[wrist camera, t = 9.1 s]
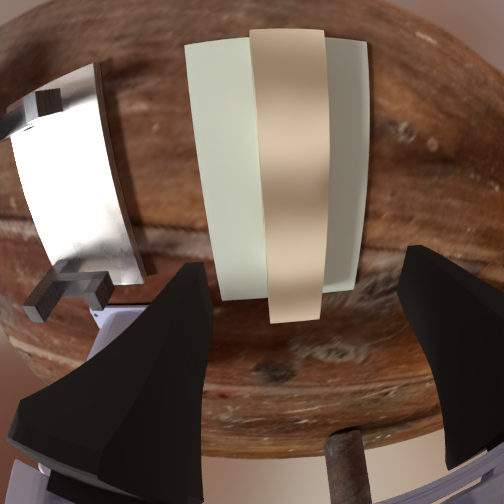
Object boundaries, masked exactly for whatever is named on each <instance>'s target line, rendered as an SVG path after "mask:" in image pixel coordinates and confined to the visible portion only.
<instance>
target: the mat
mask: <svg viewBox="0 0 504 504" xmlns="http://www.w3.org/2000/svg"><path fill="white" fill-rule="evenodd" d="M325 48H326V61H327V76H328V96H329V136H330V163H329V204H328V225H327V242H326V256H325V269H324V280H323V291H322V293H326V292H335V291H345V290H353V289H354V284H355V279H356V273H357V266H358V260H359V253H360V246H361V239H362V231H363V222H364V213H365V203H366V191H367V178H368V161H369V133H370V97H369V70H368V55H367V42H363V41H356V40H348V39H339V38H327V37H325ZM185 55H186V65H187V75H188V84H189V93H190V102H191V110H192V118H193V126H194V134H195V141H196V149H197V156H198V163H199V170H200V176H201V183H202V190H203V196H204V202H205V209H206V215H207V221H208V227H209V233H210V238H211V244H212V250H213V255H214V261H215V266H216V272H217V277H218V283H219V288H220V293H221V298H222V301H225V300H241V299H256V298H268V290H267V273H266V257H265V241H264V226H263V211H262V196H261V182H260V168H259V155H258V141H257V129H256V116H255V104H254V92H253V80H252V68H251V57H250V46H249V37H246V38H234V39H225V40H216V41H209V42H202V43H196V44H190V45H185Z"/></svg>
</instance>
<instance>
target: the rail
mask: <svg viewBox="0 0 504 504" xmlns="http://www.w3.org/2000/svg"><path fill="white" fill-rule="evenodd" d="M249 46H250V57H251V68H252V80H253V92H254V104H255V116H256V129H257V141H258V155H259V168H260V182H261V196H262V211H263V226H264V241H265V257H266V273H267V290H268V302H269V313H270V324H271V323H283V322H295V321H305V320H315V319H319V318H320V310H321V300H322V291H323V280H324V269H325V256H326V242H327V225H328V204H329V163H330V136H329V96H328V76H327V61H326V48H325V37H324V30H312V29H257V30H250V34H249Z"/></svg>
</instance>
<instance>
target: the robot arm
mask: <svg viewBox="0 0 504 504" xmlns="http://www.w3.org/2000/svg"><path fill="white" fill-rule="evenodd" d="M396 291H397V294H398V297H399V299H400V302H401V305H402V308H403V310H404V313H405V315H406V317H407V319H408V321H409V323H410V325H411V327H412V329H413V331H414V333H415V335H416V337H417V339H418V341H419V343H420V345H421V347H422V349H423V351H424V353H425V355H426V358H427V360H428V362H429V365H430V367H431V370H432V374H433V377H434V380H435V384H436V387H437V391H438V396H439V400H440V405H441V410H442V416H443V423H444V431H445V447H446V448H445V450H446V452H445V453H446V454H445V458H446V459H445V462H446V466H447V469H448V470H451V469H453V468H455V467H457V466H459V465H461V464H463V463H464V462H466V461H468V460H470V459H472V458H473V457H475V456H477V455H479V454H480V453H482V452H483V451H485V450H487V451H488V453H486V454H485V455H483V456H481V457H480V458H478V459H477V460H475V461H473V462H471V463H469V464H468V465H466V466H464V467H462V468H460V469H458V470H456V471H455V472H453V473H451V474H449V475H447V476H445V477H442V478H440V479H438V480H436V481H434V482H432V483H429V484H427V485H425V486H422V487H420V488H417V489H415V490H412V491H410V492H407V493H405V494H402V495H399V496H396V497H393V498H390V499H387V500H384V501H381V502H377V503H374V504H431V503H433V502H435V501H437V500H439V499H441V498H443V497H445V496H447V495H449V494H451V493H453V492H455V491H457V490H458V489H460V488H462V487H464V486H466V485H467V484H469V483H471V482H472V481H474V480H476V479H477V478H479V477H481V476H482V475H483V476H482V479H481V481H480V482H479V483H478V484H476V485H474V486H472V487H470V488H468V489H466V490H463V491H461V492H460V493H458V494H456V495H454V496H452V497H450V498H449V499H447V500H445V501H444V502H442V503H441V504H504V292H502V291H500V290H498V289H496V288H494V287H493V286H491V285H489V284H488V283H486V282H484V281H483V280H481V279H479V278H477V277H476V276H474V275H473V274H471V273H469V272H468V271H466V270H465V269H463V268H461V267H460V266H458V265H456V264H455V263H453V262H452V261H450V260H448V259H447V258H445V257H443V256H442V255H440V254H438V253H436V252H435V251H433V250H431V249H429V248H427V247H424V246H422V245H414V246H408V247H407V251H406V255H405V259H404V264H403V268H402V271H401V275H400V279H399V283H398V286H397V290H396ZM90 312H91V314H92V315H93V317H94V319H95V321H96V323H97V324H98V326H99V328H100V331H99V333H98V336H97V338H96V340H95V342H94V345H93V347H92V349H91V351H90V354H89V356H88V358H87V361H86V362H85V363H84V364H82V365H81V366H80V367H78V368H77V369H75V370H74V371H72V372H71V373H69V374H67V375H66V376H64V377H63V378H61V379H59V380H58V381H56V382H54V383H53V384H51V385H49V386H47V387H45V388H44V389H42V390H40V391H38V392H36V393H34V394H32V395H30V396H28V397H26V398H24V399H22V400H20V403H19V405H18V408H17V410H16V413H15V415H14V418H13V421H12V424H11V427H10V429H9V433H8V435H7V440H8V442H9V443H10V444H11V445H13V446H14V447H15V448H17V449H18V450H19V451H21V452H22V453H24V454H26V455H27V456H29V457H30V458H32V459H33V460H35V461H37V462H38V463H39V465H38V466H39V469H40V471H41V472H39V471H37V470H36V469H34V468H32V467H30V466H28V465H26V464H25V463H23V462H21V461H19V460H15V462H14V465H13V469H12V473H11V477H10V481H9V486H8V490H7V495H6V501H5V504H202V503H203V502H204V498H203V486H202V470H201V409H202V394H203V386H204V379H205V373H206V367H207V361H208V355H209V349H210V343H211V337H212V325H213V305H212V300H211V296H210V291H209V286H208V282H207V277H206V272H205V268H204V263H203V262H193V263H185V264H184V265H183V266H182V268H181V269H180V270H179V271H178V272H177V273H176V275H175V276H174V277H173V278H172V279H171V281H170V282H169V283H168V284H167V285H166V286H165V288H164V289H163V290H162V291H161V292H160V293H159V295H158V296H157V297H156V298H155V299H154V300H153V301H152V302H151V304H150V305H121V306H106V307H105V309H104V311H92V310H91V308H90Z"/></svg>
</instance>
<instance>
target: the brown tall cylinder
mask: <svg viewBox="0 0 504 504" xmlns="http://www.w3.org/2000/svg"><path fill="white" fill-rule="evenodd" d="M324 449H325V457H326V465H327V474H328V482H329V489H330V499H331V504H372V500H371V493H370V485H369V479H368V473H367V467H366V460H365V454H364V447H363V442H362V437H361V432H360V431H359V430H353V431H346V432H344V431H342V432H338V433H335V434H334V435H333V436H331V437H329V438H328V439H327V440H326V441H325V442H324Z"/></svg>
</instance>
